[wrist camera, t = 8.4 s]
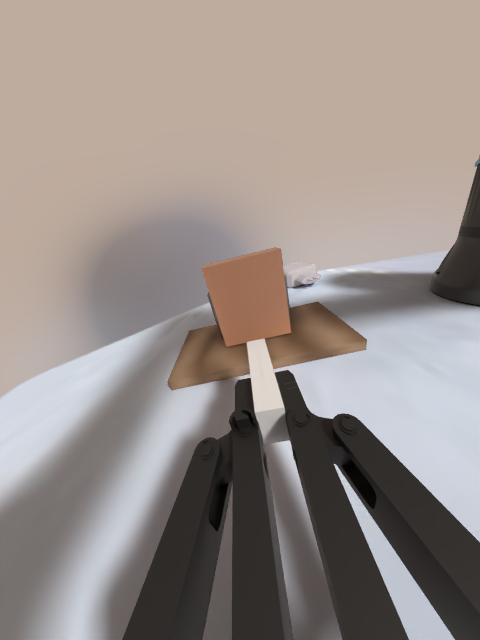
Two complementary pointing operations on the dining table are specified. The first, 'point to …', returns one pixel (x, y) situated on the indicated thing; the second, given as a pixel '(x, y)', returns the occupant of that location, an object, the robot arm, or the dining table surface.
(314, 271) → the charger
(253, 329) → the orange block
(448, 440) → the dining table surface
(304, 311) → the base board
